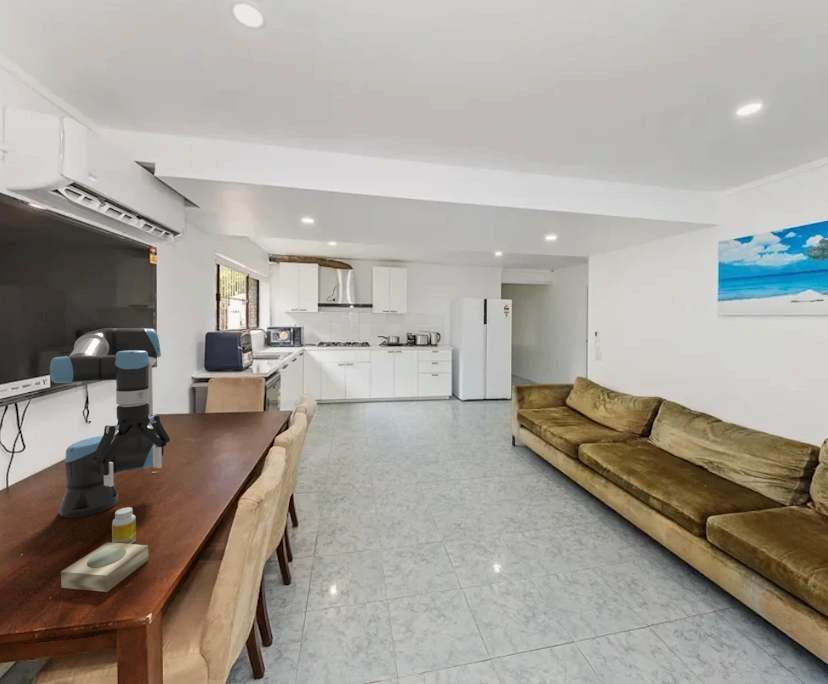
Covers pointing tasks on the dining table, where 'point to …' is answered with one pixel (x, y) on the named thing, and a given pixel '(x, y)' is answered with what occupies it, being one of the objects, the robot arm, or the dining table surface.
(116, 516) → the supplement bottle
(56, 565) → the dining table surface
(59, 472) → the dining table surface
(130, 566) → the pedestal
